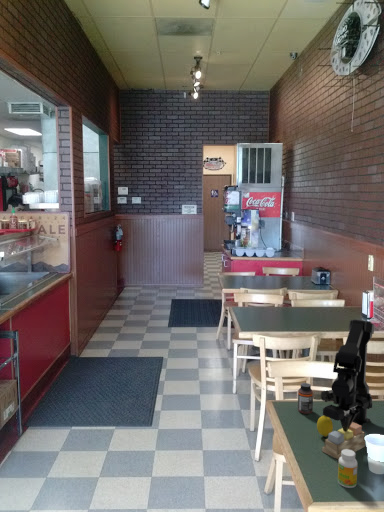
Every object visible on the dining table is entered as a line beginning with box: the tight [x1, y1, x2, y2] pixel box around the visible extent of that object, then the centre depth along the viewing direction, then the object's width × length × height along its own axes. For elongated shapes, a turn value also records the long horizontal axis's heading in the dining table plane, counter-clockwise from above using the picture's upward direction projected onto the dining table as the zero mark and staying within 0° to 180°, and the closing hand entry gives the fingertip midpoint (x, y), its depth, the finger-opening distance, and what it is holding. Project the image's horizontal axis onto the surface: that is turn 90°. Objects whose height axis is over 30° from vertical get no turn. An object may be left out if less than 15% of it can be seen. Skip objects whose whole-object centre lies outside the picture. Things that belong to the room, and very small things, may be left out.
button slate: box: [327, 430, 344, 445], centre depth 158 cm, size 4×4×4 cm
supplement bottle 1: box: [297, 382, 314, 415], centre depth 190 cm, size 6×6×11 cm
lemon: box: [316, 415, 334, 438], centre depth 169 cm, size 6×6×8 cm
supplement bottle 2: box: [337, 449, 358, 489], centre depth 141 cm, size 5×5×10 cm
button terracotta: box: [349, 422, 363, 436], centre depth 164 cm, size 4×4×4 cm
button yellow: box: [337, 428, 353, 440], centre depth 161 cm, size 4×4×4 cm
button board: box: [321, 430, 366, 461], centre depth 161 cm, size 16×7×4 cm, turn 128°
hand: (345, 430), depth 161 cm, fingers closed, pressing on button yellow
